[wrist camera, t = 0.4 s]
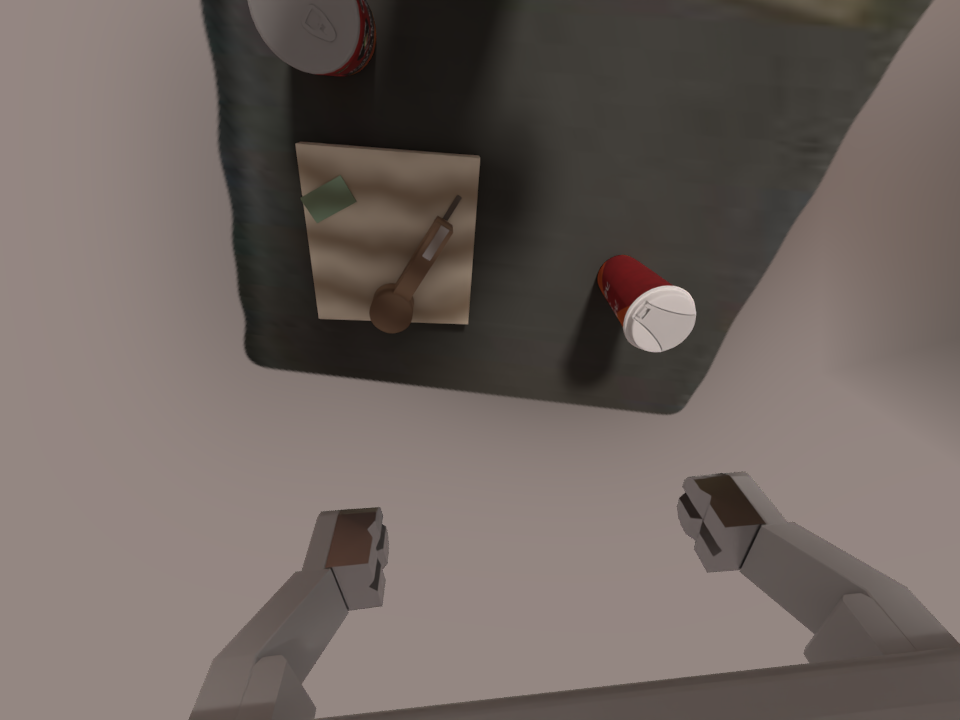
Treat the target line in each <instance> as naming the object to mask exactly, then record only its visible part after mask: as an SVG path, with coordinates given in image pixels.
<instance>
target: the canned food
mask: <svg viewBox="0 0 960 720" xmlns="http://www.w3.org/2000/svg"><path fill="white" fill-rule="evenodd" d="M248 5H249V9H250V13H251V16H252V19H253V21H254V23H255V26H256V28H257V30H258V32H259V33H260V35H261V37H262V38H263V40H264V41H265V43H266V44H267V45H268V46H269V48H270V49H271V50H272V51H273V52H274V53H275V54H276V55H277V56H278V57H279V58H280V59H281V60H283V61H284V62H286V63H287V64H289V65H290V66H292V67H294V68H296V69H298V70H301V71H303V72H307V73H311V74H316V75H328V76H349V75H353V74H355V73H357V72H359V71H361V70H362V69H363V68H364V67H365V66H366V65H367V64H368V62H369V61H370V59H371V57H372V55H373V52H374V49H375V44H376V28H375V21H374V18H373V15H372V12H371V9H370V7H369V5H368V3H367V1H366V0H248Z"/></svg>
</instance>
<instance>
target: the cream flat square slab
mask: <svg viewBox="0 0 960 720" xmlns="http://www.w3.org/2000/svg"><path fill="white" fill-rule="evenodd" d="M295 146H296V153H297V161H298V168H299V175H300V183H301V190H302V197H301V198H300V200H301V201H302V202H303V205H304V213H305V220H306V227H307V235H308V242H309V250H310V257H311V265H312V272H313V280H314V287H315V294H316V302H317V309H318V317H319V319H336V320H363V321H371V319H370V315H369V310H370V306H371V303H372V300H373V297H374V294H375V292H376V291H377V289H378V288H380V287H381V286H383V285H385V284H389V283H396V282H397V280H398V279H399V277H400V275H401V274H402V272H403V271H404V269H405V267H406V266H407V264H408V262H409V261H410V259H411V258H412V256H413V254H414V253H415V251H416V250H417V248H418V246H419V245H420V243H421V241H422V240H423V238H424V237H425V235H426V233H427V232H428V230H429V228H430V227H431V225H432V224H433V222H434V220H435V219H436V217H437V215H438V216H439V217H441V218H443V219H444V220H446V221H447V222H449V223H450V224H452V225H453V234H452V235H451V237H450V239H449V240H448V242H447V243H446V245H445V246H444V248H443V249H442V251H441V252H440V254H439V256H438V257H437V259H436V260H435V262H434V263H433V265H432V266H431V268H430V269H429V271H428V273H427V274H426V276H425V277H424V279H423V280H422V282H421V283H420V285H419V286H418V288H417V290H416V291H415V293H414V294H413V299H414V308H413V316H412V321H411V322H417V323H445V324H468V318H469V305H470V291H471V278H472V264H473V250H474V237H475V223H476V210H477V196H478V183H479V169H480V157H479V156H478V155H465V154H452V153H440V152H427V151H414V150H402V149H389V148H376V147H364V146H351V145H338V144H326V143H313V142H298V143H296V144H295Z"/></svg>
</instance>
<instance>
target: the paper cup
mask: <svg viewBox="0 0 960 720" xmlns="http://www.w3.org/2000/svg"><path fill="white" fill-rule="evenodd" d="M597 281H598V285H599V287H600V289H601V291H602V293H603V295H604V296H605V298H606V300H607V302H608V303H609V305H610V306H611V308H612V310H613V311H614V313H615V315H616V316H617V318H618V320H619V321H620V323H621V325H622V326H623V329H624V334H625V337H626V338H627V340H628V341H629V342H630V343H631V344H632V345H633V346H635V347H637V348H639V349H643V350H645V351H649V352H662V351H665V350H668V349H671V348H673V347H675V346H677V345H678V344H680V343H681V342H682V341H683V340H684V339H685V338H686V337H687V336H688V335H689V334H690V332H691V331H692V329H693V327H694V323H695V319H696V310H695V304H694V300H693V298H692V297H691V295H690V294H689V293H688V292H687V291H685V290H684V289H682V288H680V287H676V286H673V285H671V284H670V283H669V282H667V281H666V280H664V279H663V278H661V277H660V276H659V275H657V274H656V273H654V272H653V271H651V270H650V269H649V268H647V267H646V266H644V265H643V264H641V263H640V262H638V261H637V260H635V259H634V258H632V257H630V256H627V255H618V256H614V257H612V258H610V259H608V260H607V261H606V262H605V263H604V264H603V265H602V266H601V268H600V270H599V272H598V277H597Z"/></svg>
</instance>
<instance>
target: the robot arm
mask: <svg viewBox="0 0 960 720" xmlns="http://www.w3.org/2000/svg"><path fill="white" fill-rule="evenodd" d="M683 488H684V490H685V492H686V493H685V494H683V495H682V496H681V497H680V498H679V501H678V505H677V510H678V518H679V520H680V523H681V526H682V528H683V530H684V531H685V533H686V534H687V535H688V536H690V537H691V538H693V539H694V540H695V546H694V550H695V551H696V553H697V555H698V557H699V559H700V560H701V562H702V564H703V566H704V568H705V569H706V571H707V572H720V571H733V570H740V572H741V573H742V574H743V575H744V576H745V577H747V578H748V579H749V580H750V581H751V582H753V583H754V584H755V585H756V586H757V587H759V588H760V589H761V590H762V591H764V592H765V593H766V594H767V595H768V596H769V597H771V598H772V599H773V600H774V601H776V602H777V603H778V604H779V605H780V606H782V607H783V608H784V609H785V610H786V611H788V612H789V613H790V614H791V615H792V616H794V617H795V618H796V619H797V620H798V621H800V622H801V623H802V624H803V625H804V626H806V627H807V628H808V629H809V630H810V631H812V632H813V633H814V634H815V635H814V636H813V638H812V639H811V640H810V642H809V643H808V645H807V646H806V647H805V650H804V655H805V657H806V658H807V660H808V661H809V664H799V665H790V666H782V667H773V668H763V669H755V670H746V671H736V672H727V673H719V674H711V675H702V676H692V677H683V678H675V679H665V680H656V681H648V682H638V683H630V684H620V685H611V686H603V687H593V688H584V689H576V690H567V691H558V692H549V693H540V694H531V695H522V696H513V697H504V698H495V699H487V700H478V701H470V702H460V703H451V704H442V705H433V706H424V707H416V708H407V709H397V710H389V711H380V712H371V713H362V714H353V715H344V716H336V717H327V718H318V719H314V717H315V712H316V707H315V706H314V704H313V702H312V700H311V699H310V697H309V696H308V694H307V692H306V691H305V689H304V688H303V686H302V682H303V681H304V680H305V678H306V676H307V675H308V674H309V672H310V671H311V669H312V668H313V666H314V664H315V663H316V661H317V660H318V658H319V657H320V655H321V654H322V652H323V651H324V649H325V648H326V646H327V645H328V643H329V642H330V640H331V639H332V637H333V636H334V634H335V633H336V631H337V630H338V628H339V627H340V625H341V624H342V622H343V621H344V619H345V618H346V616H347V614H348V611H349V610H357V609H365V608H372V607H379V606H382V605H383V596H384V588H385V577H384V573H383V568H384V567H385V566H386V565H387V563H388V553H389V552H388V549H389V547H388V546H389V545H388V544H389V543H388V542H389V541H388V533H387V529H386V526H384V525H383V524H382V519H383V514H382V511H381V508H380V507H377V508H363V509H347V510H335V511H323V512H321V513H320V514H319V516H318V518H317V521H316V524H315V528H314V531H313V534H312V537H311V541H310V544H309V548H308V551H307V555H306V558H305V561H304V565H303V568H302V571H299V572H295V573H294V574H293V575H292V576H291V577H290V579H288V581H287V582H286V583H285V584H284V585H283V586H282V587H281V588H280V589H279V590H278V591H277V592H276V593H275V594H274V596H273V597H272V598H271V599H270V600H269V601H268V602H267V603H266V604H265V605H264V606H263V607H262V608H261V609H260V611H258V613H257V614H256V615H255V616H254V617H253V618H252V619H251V620H250V621H249V622H248V623H247V625H245V626H244V627H243V629H242V630H241V631H240V632H239V633H238V634H237V635H236V636H235V637H234V638H233V639H232V640H231V641H230V642H229V644H228V645H227V646H226V647H225V648H224V649H223V650H222V651H221V652H220V653H219V654H218V655H217V656H216V657H215V658H214V659H213V661H212V663H211V666H210V668H209V671H208V673H207V676H206V678H205V681H204V683H203V686H202V688H201V690H200V693H199V695H198V698H197V700H196V703H195V705H194V708H193V710H192V713H191V715H190V717H189V720H960V644H959V643H958V642H957V641H956V639H955V638H954V637H953V636H952V635H951V634H950V633H949V632H948V631H947V630H946V629H945V628H944V627H943V626H942V625H941V623H940V622H939V621H938V620H937V619H936V618H935V617H934V616H933V615H932V614H931V613H930V612H929V611H928V610H927V608H926V607H925V606H924V605H923V604H922V603H921V602H920V601H919V600H918V599H917V598H916V597H915V596H914V595H913V593H911V591H910V590H909V589H908V588H907V587H905V586H904V585H902V584H900V583H899V582H897V581H895V580H893V579H892V578H890V577H888V576H886V575H885V574H883V573H881V572H879V571H878V570H876V569H874V568H872V567H871V566H869V565H867V564H866V563H864V562H862V561H860V560H859V559H857V558H855V557H854V556H852V555H850V554H848V553H846V552H845V551H843V550H841V549H840V548H838V547H836V546H834V545H833V544H831V543H829V542H828V541H826V540H824V539H822V538H821V537H819V536H817V535H815V534H814V533H812V532H810V531H808V530H807V529H805V528H803V527H802V526H800V525H798V524H796V523H795V522H787V521H786V519H785V518H784V517H783V516H782V514H781V513H780V512H779V511H778V509H777V508H776V507H775V506H774V505H773V503H772V502H771V501H770V500H769V498H768V497H767V496H766V495H765V494H764V492H763V491H762V490H761V489H760V487H759V486H758V485H757V484H756V483H755V481H754V480H753V479H752V477H751V476H750V475H749V474H747V473H746V472H734V473H725V474H723V473H720V474H711V475H701V476H692V477H688V478H686V479H685V480H684V483H683Z"/></svg>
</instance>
